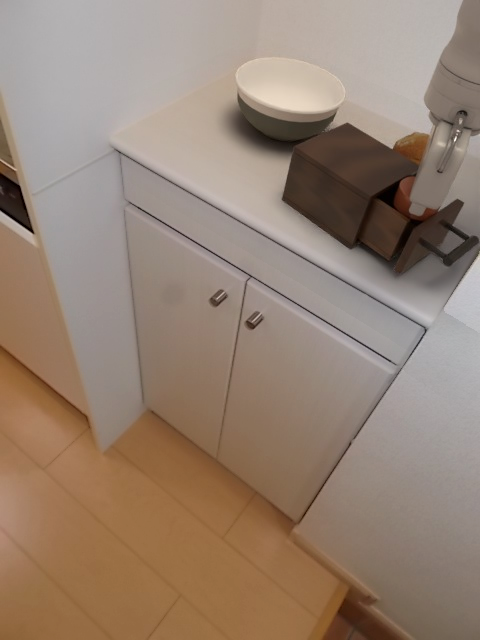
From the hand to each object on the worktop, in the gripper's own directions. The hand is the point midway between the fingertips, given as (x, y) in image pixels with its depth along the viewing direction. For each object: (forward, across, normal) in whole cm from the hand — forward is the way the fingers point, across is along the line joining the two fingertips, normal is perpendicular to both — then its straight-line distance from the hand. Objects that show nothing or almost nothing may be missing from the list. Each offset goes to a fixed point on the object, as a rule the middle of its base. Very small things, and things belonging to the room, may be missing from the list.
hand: (420, 196), depth 69 cm
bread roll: (+9, +21, +1) cm, 23 cm away
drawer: (+8, 0, 0) cm, 8 cm away
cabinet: (+9, +4, +10) cm, 14 cm away
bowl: (+9, +21, +25) cm, 34 cm away
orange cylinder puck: (+2, 0, 0) cm, 2 cm away
